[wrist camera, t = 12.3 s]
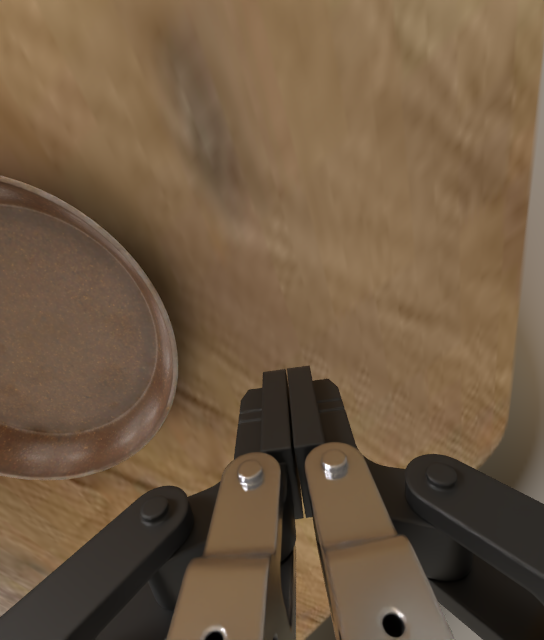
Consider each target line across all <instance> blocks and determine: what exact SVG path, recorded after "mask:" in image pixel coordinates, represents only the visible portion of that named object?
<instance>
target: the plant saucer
mask: <svg viewBox="0 0 544 640" xmlns="http://www.w3.org/2000/svg"><path fill="white" fill-rule="evenodd" d="M177 380H178V354H177V345H176V340H175V335H174V331H173V328H172V325H171V322H170V319H169V316H168V313H167V311H166V309H165V307H164V304H163V302H162V300H161V298H160V296H159V295H158V293H157V291H156V289H155V288H154V286H153V284H152V283H151V281H150V280H149V278H148V277H147V275H146V274H145V272H144V271H143V270H142V268H141V267H140V266H139V264H138V263H137V262H136V261H135V260H134V258H133V257H132V256H131V255H130V254H129V253H128V252H127V251H126V249H125V248H124V247H123V246H122V245H121V244H120V243H119V242H118V241H117V240H116V239H115V238H114V237H112V236H111V235H110V234H109V233H108V232H107V231H106V230H105V229H103V228H102V227H101V226H100V225H98V224H97V223H96V222H95V221H93V220H92V219H91V218H89V217H88V216H86V215H85V214H84V213H82V212H81V211H79V210H78V209H76V208H75V207H73V206H71V205H70V204H68V203H66V202H64V201H63V200H61V199H59V198H57V197H55V196H53V195H51V194H50V193H48V192H45V191H43V190H41V189H39V188H36V187H34V186H32V185H29V184H27V183H24V182H21V181H18V180H15V179H12V178H8V177H5V176H1V175H0V476H6V477H11V478H19V479H27V480H63V479H72V478H78V477H83V476H87V475H91V474H95V473H98V472H101V471H104V470H107V469H109V468H111V467H113V466H116V465H118V464H119V463H121V462H123V461H125V460H127V459H128V458H130V457H131V456H133V455H134V454H136V453H137V452H138V451H139V450H141V449H142V448H143V447H144V446H145V445H146V444H147V443H148V442H149V441H150V440H151V439H152V438H153V437H154V436H155V434H156V433H157V432H158V430H159V429H160V428H161V426H162V425H163V423H164V421H165V419H166V418H167V415H168V413H169V411H170V409H171V406H172V404H173V401H174V397H175V393H176V388H177Z"/></svg>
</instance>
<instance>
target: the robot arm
mask: <svg viewBox="0 0 544 640" xmlns="http://www.w3.org/2000/svg"><path fill="white" fill-rule="evenodd" d="M287 373H288V381H287V375H286V370H285V369H282V370H275V371H267V372H263V386H262V388H258V389H251V390H248V391H247V393H246V394H245V396H244V397H243V398H242V400H241V405H240V414H239V424H238V430H237V438H236V446H235V454H234V460H233V461H232V462H231V463H230V464H228V466H227V467H226V468H225V470H224V472H223V475H222V478H221V481H220V482H219V483H218V484H216V485H214V486H213V487H211V488H209V489H207V490H204V491H202V492H199V493H197V494H194V495H192V496H189V497H187V495H186V493H185V492H184V491H183V490H182V489H180V488H178V487H175V486H162V487H158V488H155V489H153V490H150V491H148V492H147V493H145V494H144V495H142V496H141V497H140V498H138V499H137V500H136V501H135V502H134V503H133V504H131V505H130V506H129V507H128V508H127V509H126V510H124V511H123V512H122V513H121V514H120V515H119V516H117V517H116V518H115V519H114V520H113V521H112V522H110V523H109V524H108V525H107V526H106V527H105V528H103V529H102V530H101V531H100V532H99V533H98V534H96V535H95V536H94V537H93V538H92V539H91V540H89V541H88V542H87V543H86V544H85V545H84V546H83V547H81V548H80V549H79V550H78V551H77V552H76V553H74V554H73V555H72V556H71V557H70V558H69V559H67V560H66V561H65V562H64V563H63V564H62V565H60V566H59V567H58V568H57V569H56V570H55V571H53V572H52V573H51V574H50V575H49V576H48V577H46V578H45V579H44V580H43V581H42V582H41V583H40V584H38V585H37V586H36V587H35V588H34V589H33V590H31V591H30V592H29V593H28V594H27V595H26V596H24V597H23V598H22V599H21V600H20V601H19V602H17V603H16V604H15V605H14V606H13V607H12V608H10V609H9V610H8V611H7V612H6V613H5V614H3V615H2V616H1V617H0V640H296V546H295V541H296V529H295V519H301V518H303V508H302V498H301V491H302V497H303V503H304V509H305V514H306V518H308V517H313V523H314V529H315V535H316V542H317V548H318V553H319V558H320V563H321V568H322V573H323V578H324V582H325V587H326V592H327V597H328V602H329V607H330V612H331V617H332V621H333V626H334V631H335V636H336V640H455V638H454V636H453V634H452V631H451V629H450V627H449V625H448V623H447V620H446V618H445V616H444V614H443V612H442V609H441V607H440V605H439V603H440V604H441V605H443V606H444V607H445V608H446V609H447V610H449V611H450V612H451V613H452V614H453V615H455V616H456V617H457V618H458V619H459V620H461V621H462V622H463V623H464V624H465V625H467V626H468V627H469V628H470V629H471V630H472V631H474V632H475V633H476V634H477V635H478V636H480V637H481V638H482V639H483V640H544V504H542V503H540V502H539V501H537V500H534V499H533V498H531V497H529V496H527V495H525V494H523V493H521V492H519V491H517V490H515V489H513V488H511V487H509V486H507V485H505V484H503V483H501V482H499V481H497V480H495V479H493V478H491V477H489V476H487V475H486V474H484V473H482V472H480V471H478V470H476V469H474V468H472V467H470V466H468V465H466V464H464V463H462V462H460V461H458V460H456V459H454V458H451V457H448V456H444V455H439V454H427V455H422V456H419V457H417V458H415V459H413V460H412V461H411V462H410V463H409V464H408V465H407V467H406V469H400V468H393V467H387V466H382V465H379V464H376V463H374V462H372V461H370V460H368V459H367V458H366V457H364V456H363V455H362V454H361V453H360V451H359V450H358V449H357V446H356V444H355V440H354V437H353V434H352V431H351V428H350V424H349V421H348V418H347V415H346V412H345V409H344V405H343V402H342V399H341V396H340V392H339V389H338V387H337V386H336V385H335V384H334V383H333V382H331V381H330V380H329V379H323V380H315V381H312V376H311V371H310V366H303V367H295V368H288V369H287ZM288 384H289V387H288ZM300 485H301V488H300ZM438 602H439V603H438Z"/></svg>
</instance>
